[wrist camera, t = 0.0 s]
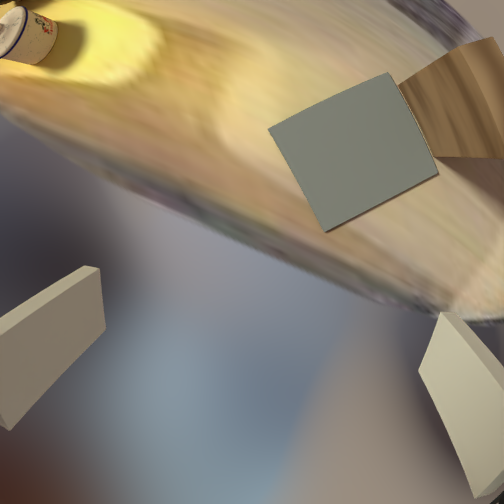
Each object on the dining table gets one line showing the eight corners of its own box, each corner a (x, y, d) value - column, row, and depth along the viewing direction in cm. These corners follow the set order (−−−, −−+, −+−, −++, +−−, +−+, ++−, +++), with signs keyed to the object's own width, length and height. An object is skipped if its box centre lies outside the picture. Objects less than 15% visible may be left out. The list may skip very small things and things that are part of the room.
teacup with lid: (67, 29, 33) (21, 10, 22) (36, 74, 35) (-14, 65, 24) (40, 8, 31) (-1, -9, 20) (13, 48, 34) (-31, 38, 23)
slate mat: (386, 72, 31) (387, 71, 30) (436, 172, 34) (438, 172, 33) (267, 129, 35) (267, 129, 34) (323, 231, 38) (324, 232, 37)
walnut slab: (426, 73, 30) (492, 36, 15) (460, 142, 32) (538, 141, 17) (397, 85, 31) (457, 46, 16) (433, 156, 33) (508, 159, 18)
